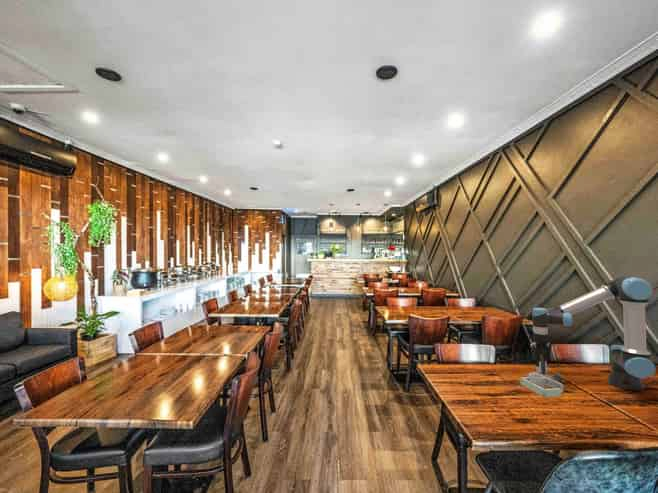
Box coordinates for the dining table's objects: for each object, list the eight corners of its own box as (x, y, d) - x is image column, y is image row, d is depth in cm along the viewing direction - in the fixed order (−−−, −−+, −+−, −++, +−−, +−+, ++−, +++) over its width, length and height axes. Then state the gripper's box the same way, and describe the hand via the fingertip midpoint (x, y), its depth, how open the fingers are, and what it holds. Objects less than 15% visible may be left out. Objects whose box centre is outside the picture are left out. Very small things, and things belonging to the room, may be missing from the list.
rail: (555, 378, 186) (555, 373, 187) (563, 381, 181) (562, 376, 181) (523, 380, 184) (522, 375, 184) (529, 383, 179) (529, 378, 179)
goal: (535, 383, 179) (535, 376, 180) (561, 396, 162) (561, 389, 162) (520, 384, 178) (520, 377, 178) (544, 397, 161) (544, 390, 161)
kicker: (541, 377, 187) (540, 353, 187) (570, 391, 167) (569, 365, 168) (532, 378, 186) (531, 354, 186) (560, 392, 166) (559, 365, 167)
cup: (548, 387, 174) (547, 373, 174) (554, 393, 166) (553, 379, 166) (527, 385, 177) (526, 371, 177) (532, 391, 169) (531, 377, 169)
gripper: (546, 331, 188) (548, 368, 187) (523, 332, 186) (524, 370, 185) (557, 334, 181) (558, 373, 180) (533, 335, 179) (534, 374, 178)
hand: (541, 371), depth 183 cm, fingers closed on kicker, 3 cm apart
